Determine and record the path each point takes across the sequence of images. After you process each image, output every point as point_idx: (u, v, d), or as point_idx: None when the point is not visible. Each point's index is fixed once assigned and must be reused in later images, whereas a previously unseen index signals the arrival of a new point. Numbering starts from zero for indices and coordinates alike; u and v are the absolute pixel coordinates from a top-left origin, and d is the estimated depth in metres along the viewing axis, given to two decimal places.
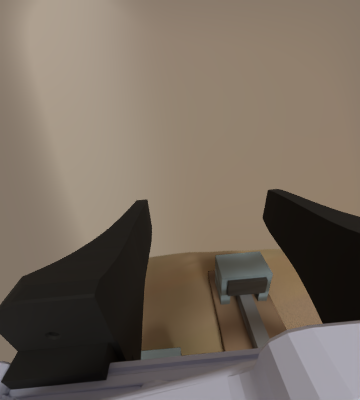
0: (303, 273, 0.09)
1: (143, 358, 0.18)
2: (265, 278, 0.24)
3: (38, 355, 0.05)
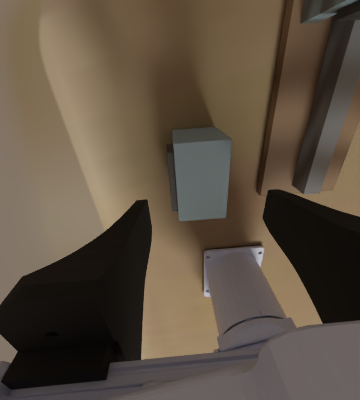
0: (303, 273, 0.09)
1: (180, 152, 0.13)
2: None
3: (38, 355, 0.05)
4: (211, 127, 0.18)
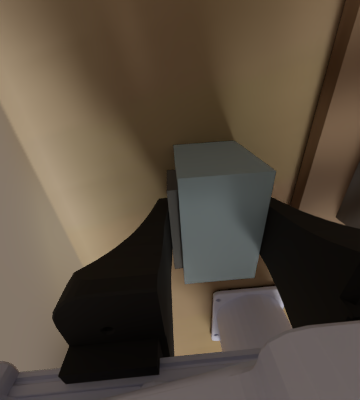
0: (275, 276, 0.09)
1: (188, 192, 0.08)
2: None
3: (91, 350, 0.05)
4: (230, 141, 0.12)
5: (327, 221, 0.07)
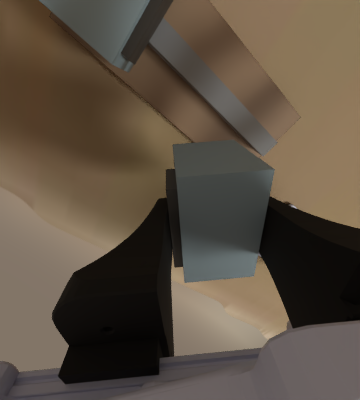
0: (276, 275, 0.09)
1: (187, 190, 0.08)
2: None
3: (90, 350, 0.05)
4: (229, 141, 0.12)
5: (327, 221, 0.07)
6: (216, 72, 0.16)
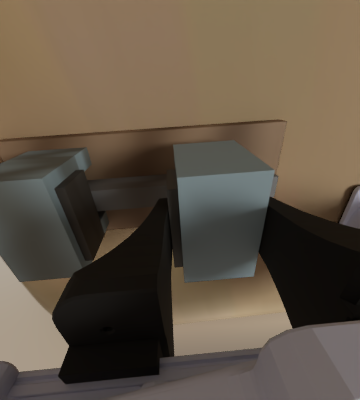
0: (275, 276, 0.09)
1: (187, 190, 0.08)
2: (60, 191, 0.09)
3: (90, 350, 0.05)
4: (229, 141, 0.12)
5: (327, 221, 0.07)
6: (167, 167, 0.14)
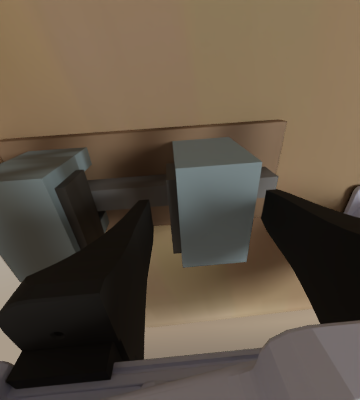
0: (301, 273, 0.09)
1: (185, 180, 0.09)
2: (60, 191, 0.09)
3: (42, 355, 0.05)
4: (225, 138, 0.13)
5: (358, 218, 0.07)
6: None
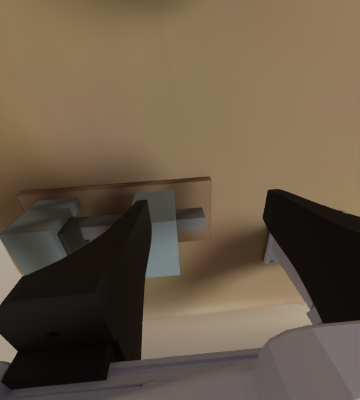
0: (303, 273, 0.09)
1: None
2: (60, 235, 0.16)
3: (38, 355, 0.05)
4: (170, 191, 0.20)
5: None
6: None
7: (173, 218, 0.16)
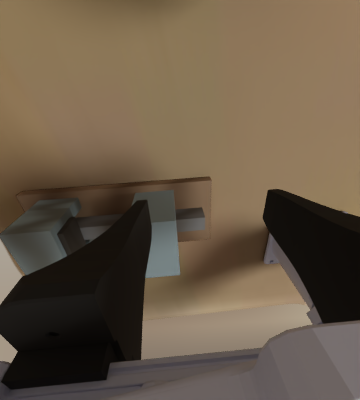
0: (303, 273, 0.09)
1: None
2: (60, 235, 0.16)
3: (38, 355, 0.05)
4: (170, 191, 0.20)
5: None
6: None
7: (173, 218, 0.16)
